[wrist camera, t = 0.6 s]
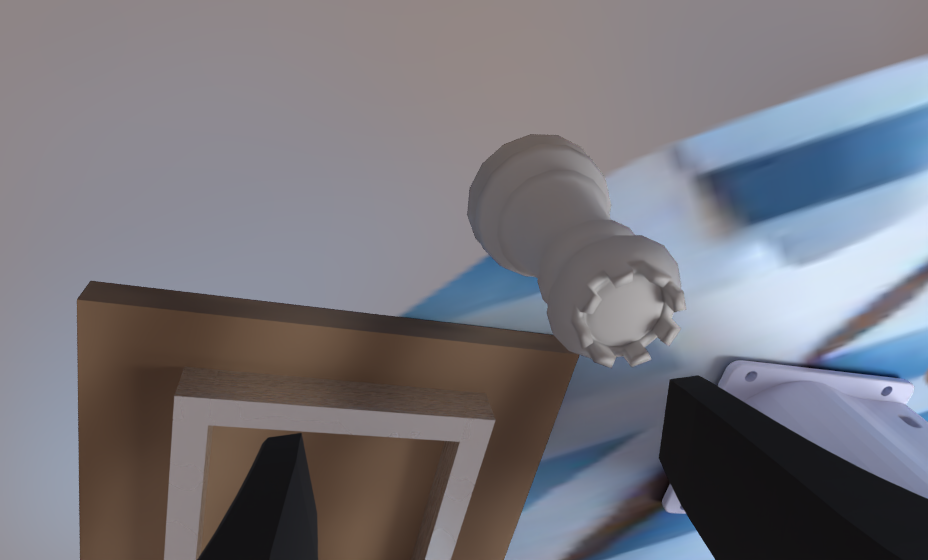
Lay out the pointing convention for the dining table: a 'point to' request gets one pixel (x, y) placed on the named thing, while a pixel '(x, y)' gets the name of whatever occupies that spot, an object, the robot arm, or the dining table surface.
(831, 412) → the robot arm
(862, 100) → the dining table surface
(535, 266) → the rook chess piece
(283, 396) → the collar board
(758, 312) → the dining table surface
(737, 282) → the dining table surface
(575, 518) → the dining table surface
